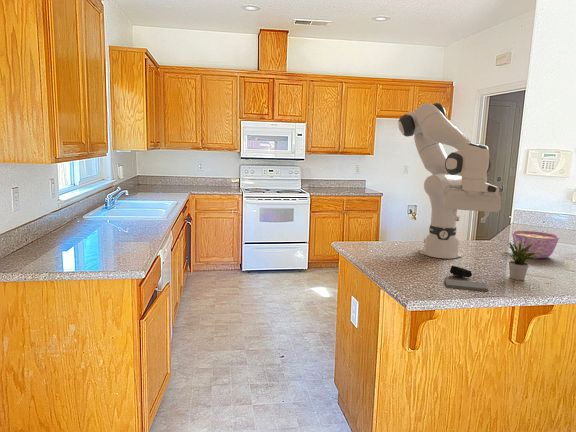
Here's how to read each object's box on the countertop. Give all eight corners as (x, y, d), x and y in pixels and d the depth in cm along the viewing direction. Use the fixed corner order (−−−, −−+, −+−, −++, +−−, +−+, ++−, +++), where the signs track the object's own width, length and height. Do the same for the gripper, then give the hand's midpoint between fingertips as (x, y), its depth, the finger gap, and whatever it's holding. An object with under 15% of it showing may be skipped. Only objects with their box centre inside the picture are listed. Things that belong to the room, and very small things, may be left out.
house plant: (495, 280, 167) (500, 239, 165) (492, 271, 180) (496, 233, 178) (537, 285, 163) (542, 243, 160) (530, 275, 175) (535, 236, 173)
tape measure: (459, 277, 165) (461, 267, 165) (445, 273, 171) (447, 264, 171) (470, 279, 168) (473, 270, 168) (456, 276, 174) (458, 267, 174)
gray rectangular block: (444, 281, 164) (445, 278, 164) (484, 285, 160) (484, 282, 160) (446, 287, 157) (447, 284, 156) (488, 291, 153) (488, 288, 153)
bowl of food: (509, 258, 204) (511, 235, 203) (509, 251, 222) (512, 229, 220) (558, 265, 195) (561, 240, 193) (554, 256, 213) (557, 233, 211)
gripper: (445, 185, 163) (442, 221, 165) (504, 188, 158) (499, 225, 160) (444, 184, 169) (440, 218, 171) (500, 187, 164) (496, 222, 166)
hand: (469, 221), depth 166 cm, fingers open, 8 cm apart
